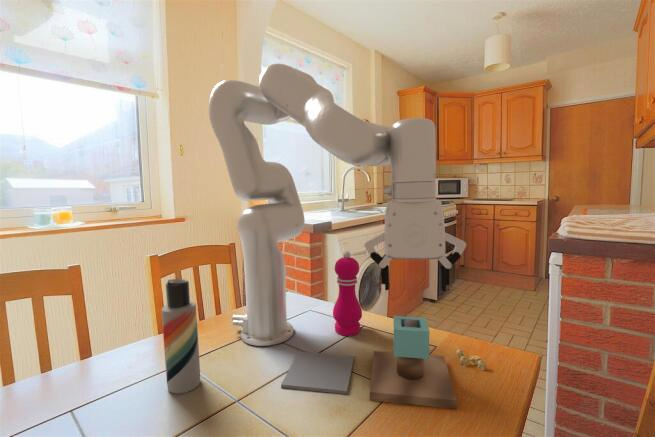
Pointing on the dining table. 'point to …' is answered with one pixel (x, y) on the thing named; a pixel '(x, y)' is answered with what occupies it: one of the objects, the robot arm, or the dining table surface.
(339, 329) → the pepper mill
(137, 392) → the dining table surface
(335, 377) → the mat
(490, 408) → the dining table surface
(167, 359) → the lotion bottle
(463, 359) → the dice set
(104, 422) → the dining table surface
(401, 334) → the collar
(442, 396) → the stand
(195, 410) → the dining table surface
